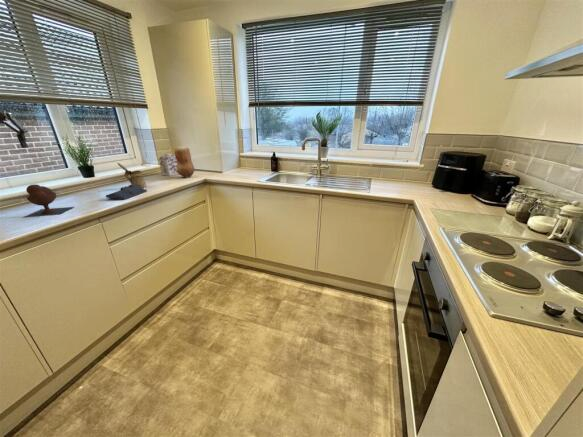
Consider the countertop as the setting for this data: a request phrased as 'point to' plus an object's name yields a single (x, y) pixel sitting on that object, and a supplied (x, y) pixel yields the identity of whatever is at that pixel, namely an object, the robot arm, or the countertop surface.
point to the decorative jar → (168, 164)
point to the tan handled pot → (134, 177)
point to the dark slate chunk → (127, 192)
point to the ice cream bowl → (41, 197)
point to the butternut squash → (184, 161)
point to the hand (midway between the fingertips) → (9, 148)
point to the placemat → (57, 211)
